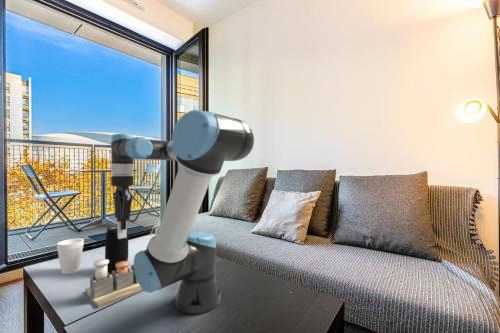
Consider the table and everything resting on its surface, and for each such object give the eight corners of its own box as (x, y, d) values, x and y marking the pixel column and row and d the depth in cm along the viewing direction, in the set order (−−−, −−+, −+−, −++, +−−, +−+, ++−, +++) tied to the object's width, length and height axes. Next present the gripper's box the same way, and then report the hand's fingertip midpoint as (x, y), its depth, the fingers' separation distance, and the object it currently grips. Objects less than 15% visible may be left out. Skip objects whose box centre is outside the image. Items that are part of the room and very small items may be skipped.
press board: (157, 285, 92) (157, 268, 92) (98, 308, 77) (98, 287, 77) (140, 273, 102) (140, 258, 102) (85, 292, 87) (85, 273, 87)
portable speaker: (123, 274, 101) (123, 228, 101) (100, 274, 101) (100, 229, 101) (131, 265, 110) (131, 223, 110) (110, 266, 109) (110, 224, 109)
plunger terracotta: (131, 281, 89) (131, 263, 89) (118, 285, 86) (118, 266, 86) (126, 277, 92) (126, 259, 92) (113, 281, 89) (113, 263, 89)
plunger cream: (110, 280, 84) (111, 261, 84) (95, 285, 81) (96, 265, 81) (106, 276, 87) (106, 258, 87) (91, 280, 84) (92, 261, 84)
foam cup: (57, 278, 97) (57, 246, 97) (56, 270, 104) (56, 241, 104) (84, 271, 104) (85, 241, 104) (82, 264, 111) (82, 237, 111)
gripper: (140, 175, 88) (139, 239, 87) (126, 174, 96) (125, 232, 96) (118, 176, 82) (117, 243, 82) (105, 175, 91) (105, 236, 91)
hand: (122, 237), depth 89 cm, fingers closed
